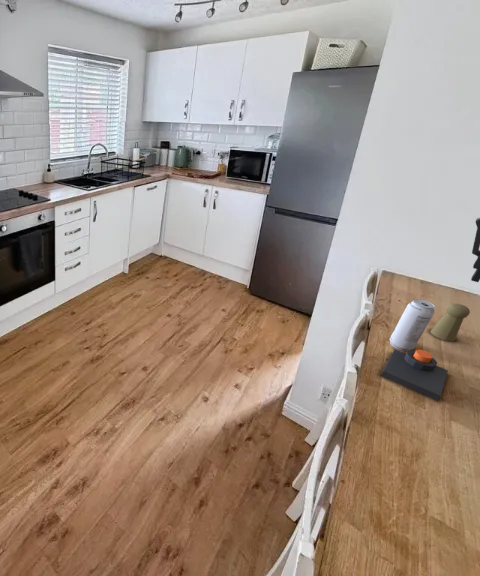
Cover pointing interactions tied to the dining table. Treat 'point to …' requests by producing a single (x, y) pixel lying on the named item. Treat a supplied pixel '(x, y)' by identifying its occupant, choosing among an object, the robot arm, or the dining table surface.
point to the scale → (415, 373)
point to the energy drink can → (412, 324)
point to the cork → (450, 322)
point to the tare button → (423, 356)
